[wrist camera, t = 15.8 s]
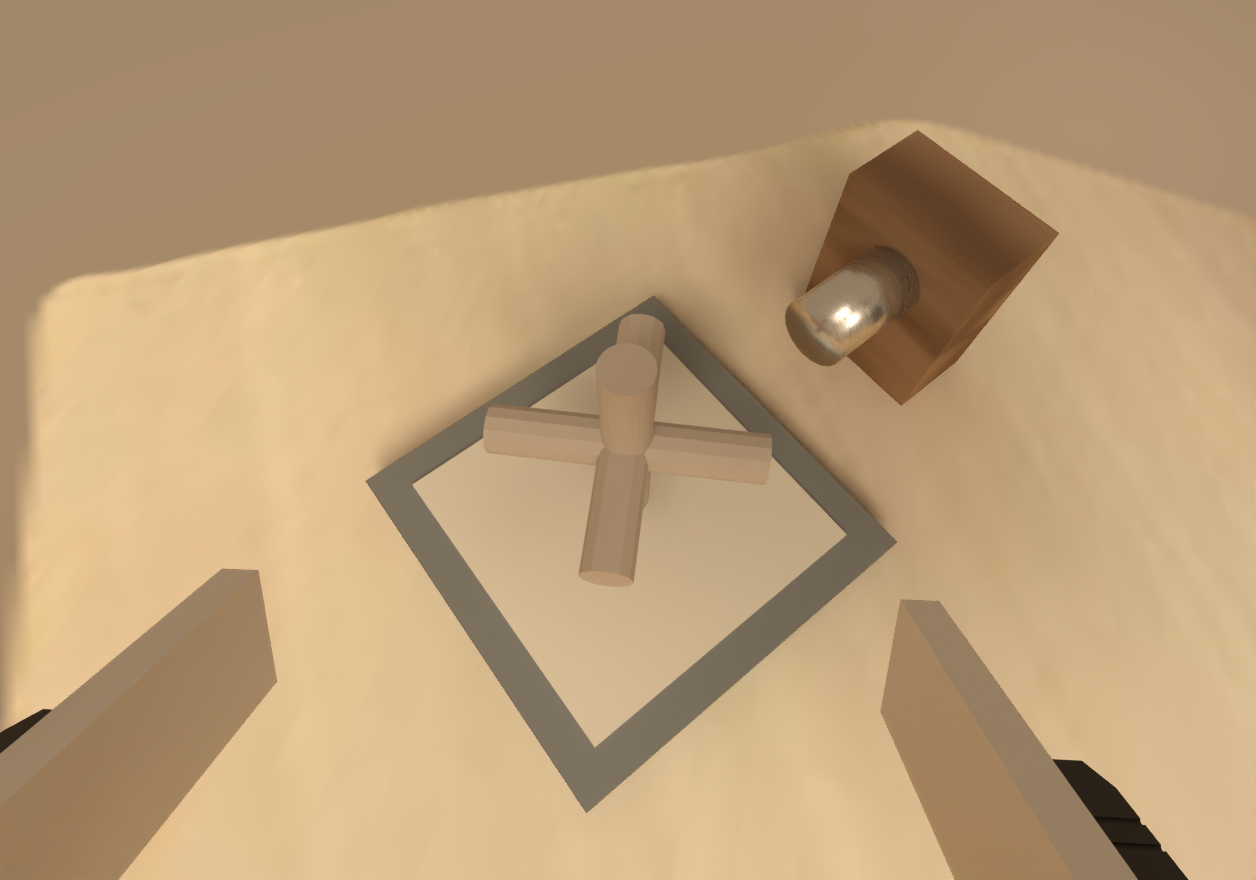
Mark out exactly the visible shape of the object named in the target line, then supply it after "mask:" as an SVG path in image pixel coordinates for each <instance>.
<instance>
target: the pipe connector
mask: <svg viewBox="0 0 1256 880" xmlns="http://www.w3.org/2000/svg"><path fill="white" fill-rule="evenodd" d="M664 338H665V328H664V325H663V323H662V322H661V321H659V320H658V319H656V318H655V317H653V316H649V315H645V314H631V315H629V316H627V317H625V318H623V319H622V320H621V322H620V324H619V329H618V335H617V341H616V345H614V346H612V347H610V348H608V349H607V350H605V351H604V352H603V353H602V354H601V356H600V357H599V358H598V361H597V364H596V382H597V394H598V406H599V415H594V414H585V413H576V412H567V411H558V410H549V409H540V408H531V407H522V406H513V405H504V404H496V403H492V404H491V405H490V406H489V408H488V411H487V414H486V417H485V423H484V429H483V443H484V449H485V451H486V452H487V453H493V454H501V455H510V456H518V457H527V458H535V459H544V460H553V461H561V462H570V463H578V464H587V465H596V470H595V476H594V482H593V489H592V495H591V501H590V507H589V513H588V519H587V525H586V532H585V538H584V544H583V550H582V556H581V562H580V568H579V575H578V576H579V577H580V578H581V579H583V580H585V581H588V582H590V583H593V584H598V585H603V586H612V587H624V586H630V585H632V584H633V583H634V576H635V568H636V560H637V552H638V545H639V537H640V529H641V521H642V513H643V509H644V508H645V506H646V505H647V503H648V499H649V489H650V474H651V472H656V473H664V474H673V475H682V476H690V477H699V478H707V479H716V480H725V481H733V482H742V483H750V484H759V485H765V484H766V482H767V479H768V476H769V470H770V464H771V455H772V438H771V435H770V434H763V433H755V432H746V431H737V430H728V429H719V428H710V427H701V426H692V425H683V424H674V423H665V422H656V421H654V417H655V409H656V401H657V394H658V386H659V378H660V370H661V362H662V354H663V346H664Z"/></svg>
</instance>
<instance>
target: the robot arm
mask: <svg viewBox="0 0 1256 880" xmlns="http://www.w3.org/2000/svg"><path fill="white" fill-rule="evenodd" d="M276 682H277V678H276V672H275V666H274V660H273V654H272V648H271V642H270V636H269V630H268V624H267V618H266V612H265V606H264V600H263V594H262V588H261V583H260V577H259V571H258V570H240V569H221V570H220V571H219V572H217V573H216V574H215V575H214V576H213V577H211V578H210V579H209V580H208V581H207V582H206V583H204V584H203V585H202V586H201V587H200V588H198V589H197V590H196V591H195V592H194V593H192V594H191V595H190V596H189V597H188V598H186V599H185V600H184V601H183V602H182V603H180V604H179V605H178V606H177V607H176V608H174V609H173V610H172V611H171V612H170V613H168V614H167V615H166V616H165V617H164V618H162V619H161V620H160V621H159V622H158V623H156V624H155V625H154V626H153V627H152V628H150V629H149V630H148V631H147V632H146V633H144V634H143V635H142V636H141V637H140V638H138V639H137V640H136V641H135V642H134V643H132V644H131V645H130V646H129V647H128V648H126V649H125V650H124V651H123V652H122V653H120V654H119V655H118V656H117V657H116V658H114V659H113V660H112V661H111V662H110V663H108V664H107V665H106V666H105V667H104V668H102V669H101V670H100V671H99V672H98V673H96V674H95V675H94V676H93V677H92V678H90V679H89V680H88V681H87V682H86V683H84V684H83V685H82V686H81V687H80V688H78V689H77V690H76V691H75V692H74V693H72V694H71V695H70V696H69V697H68V698H66V699H65V700H64V701H63V702H62V703H60V704H59V705H58V706H57V707H56V708H54V709H53V710H50V709H42V710H41V711H39V712H37V713H35V714H33V715H31V716H30V717H28V718H26V719H24V720H22V721H20V722H19V723H17V724H15V725H13V726H11V727H9V728H8V729H6V730H4V731H2V732H1V733H0V880H119V878H120V877H121V876H122V875H123V873H124V872H125V871H126V870H127V868H128V867H129V866H130V865H131V863H132V862H133V861H134V860H135V858H136V857H137V856H138V855H139V853H140V852H141V851H142V850H143V848H144V847H145V846H146V845H147V843H148V842H149V841H150V840H151V838H152V837H153V836H154V835H155V833H156V832H157V831H158V830H159V828H160V827H161V826H162V825H163V823H164V822H165V821H166V820H167V818H168V817H169V816H170V815H171V813H172V812H173V811H174V810H175V808H176V807H177V806H178V804H179V803H180V802H181V801H182V799H183V798H184V797H185V796H186V794H187V793H188V792H189V791H190V789H191V788H192V787H193V786H194V784H195V783H196V782H197V781H198V779H199V778H200V777H201V776H202V774H203V773H204V772H205V771H206V769H207V768H208V767H209V766H210V764H211V763H212V762H213V761H214V759H215V758H216V757H217V756H218V754H219V753H220V752H221V751H222V749H223V748H224V747H225V746H226V744H227V743H228V742H229V741H230V739H231V738H232V737H233V736H234V734H235V733H236V732H237V731H238V729H239V728H240V727H241V726H242V724H243V723H244V722H245V721H246V719H247V718H248V717H249V716H250V714H251V713H252V712H253V711H254V709H255V708H256V707H257V706H258V704H259V703H260V702H261V701H262V699H263V698H264V697H265V696H266V694H267V693H268V692H269V691H270V689H271V688H272V687H273V686H274V684H275V683H276ZM881 714H882V716H883V718H884V721H885V723H886V725H887V727H888V730H889V732H890V734H891V736H892V739H893V741H894V743H895V745H896V748H897V750H898V752H899V755H900V757H901V759H902V761H903V764H904V766H905V768H906V770H907V773H908V775H909V777H910V779H911V782H912V784H913V786H914V789H915V791H916V793H917V795H918V798H919V800H920V802H921V804H922V807H923V809H924V811H925V813H926V816H927V818H928V820H929V822H930V825H931V827H932V829H933V832H934V834H935V836H936V838H937V841H938V843H939V845H940V847H941V850H942V852H943V854H944V856H945V859H946V861H947V863H948V866H949V868H950V870H951V872H952V875H953V877H954V879H955V880H1188V879H1187V877H1186V876H1185V875H1184V874H1183V872H1182V871H1181V870H1180V869H1179V867H1178V866H1177V865H1176V863H1175V862H1174V861H1173V860H1172V858H1171V857H1170V856H1169V855H1168V853H1167V852H1164V851H1162V849H1161V844H1160V843H1159V842H1158V841H1157V839H1156V838H1155V837H1154V836H1153V834H1152V833H1151V832H1150V830H1149V829H1148V828H1147V827H1146V825H1142V824H1141V822H1140V818H1139V816H1138V815H1137V814H1136V813H1135V811H1134V810H1133V809H1132V808H1131V806H1130V805H1129V804H1128V803H1127V801H1126V800H1125V799H1124V797H1123V796H1122V795H1121V794H1120V792H1119V791H1118V790H1117V789H1116V788H1115V787H1114V786H1113V785H1112V784H1110V783H1109V782H1108V781H1107V780H1105V779H1104V778H1103V777H1102V776H1100V775H1099V774H1098V773H1097V772H1095V771H1094V770H1093V769H1091V768H1090V767H1089V766H1088V765H1086V764H1085V763H1084V762H1083V761H1075V760H1055V759H1052V758H1051V757H1050V756H1049V754H1048V753H1047V751H1046V750H1045V749H1044V747H1043V746H1042V744H1041V743H1040V742H1039V740H1038V739H1037V737H1036V736H1035V735H1034V733H1033V732H1032V730H1031V729H1030V728H1029V726H1028V725H1027V723H1026V722H1025V721H1024V719H1023V718H1022V716H1021V715H1020V714H1019V712H1018V711H1017V709H1016V708H1015V707H1014V705H1013V704H1012V702H1011V701H1010V700H1009V698H1008V697H1007V695H1006V694H1005V693H1004V691H1003V690H1002V688H1001V687H1000V686H999V684H998V683H997V681H996V680H995V679H994V677H993V676H992V674H991V673H990V672H989V670H988V669H987V667H986V666H985V665H984V663H983V662H982V660H981V659H980V658H979V656H978V655H977V653H976V652H975V651H974V649H973V648H972V646H971V645H970V644H969V642H968V641H967V639H966V638H965V637H964V635H963V634H962V632H961V631H960V630H959V628H958V627H957V625H956V624H955V623H954V621H953V620H952V618H951V617H950V616H949V614H948V613H947V611H946V610H945V609H944V607H943V606H942V604H941V603H940V602H939V601H924V600H902V599H901V601H900V606H899V612H898V617H897V623H896V628H895V634H894V639H893V645H892V650H891V656H890V662H889V667H888V673H887V678H886V684H885V689H884V695H883V700H882V706H881Z"/></svg>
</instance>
